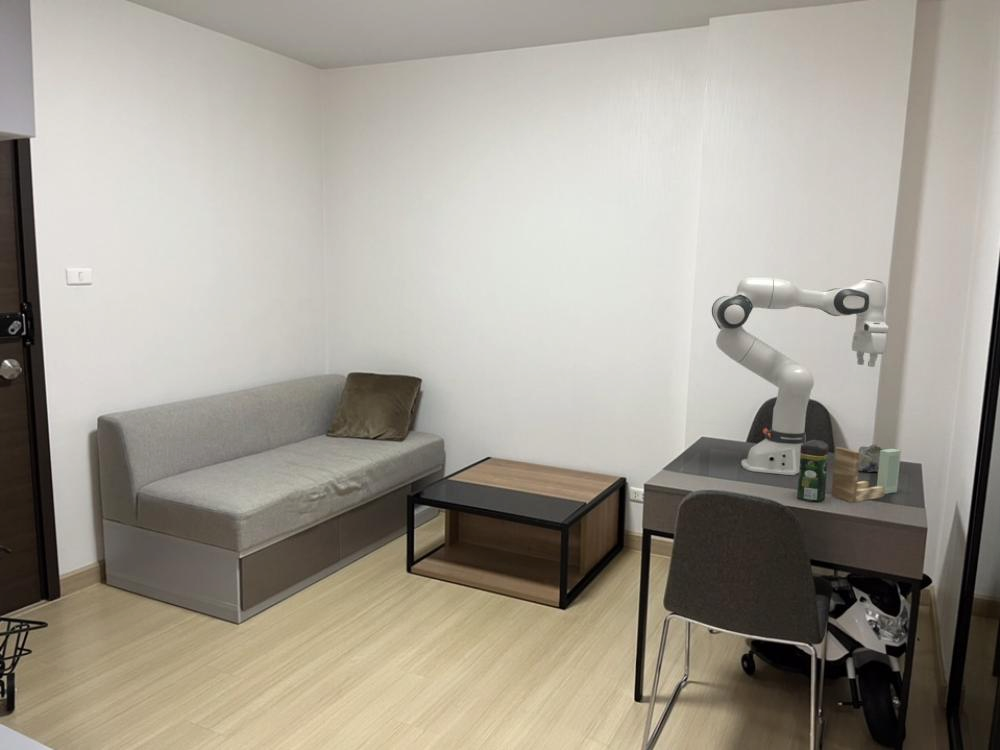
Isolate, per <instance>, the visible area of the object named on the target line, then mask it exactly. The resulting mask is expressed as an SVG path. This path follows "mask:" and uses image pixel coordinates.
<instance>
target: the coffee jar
mask: <svg viewBox="0 0 1000 750" xmlns="http://www.w3.org/2000/svg"><path fill="white" fill-rule="evenodd" d="M828 460H829V444H828V443H826V442H825V441H823V440H818V439H810V440H808V441H805V443H803V444H802V445H801V450H800V467H799V473H798V482H797V491H796V492H797V493H796V496H797V498H799V499H801V500H804V501H807V502H820V501H822V500H823V499H824V498H825V497H826V489H827V487H826V486H827V485H826V484H827V471H828V470H827V469H828Z"/></svg>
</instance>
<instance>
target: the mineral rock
mask: <svg viewBox="0 0 1000 750" xmlns="http://www.w3.org/2000/svg"><path fill="white" fill-rule="evenodd" d="M880 450H884V449H883V448H882V447H880V446H878V445H877V444H872V445H870V446H864V445H863V446H860V447H859V449H858V452H860V457H859V468H858V472H862V471H864V472H865V471H866V472H868V473H870V472H872V473H873V472H876V473H878V469H879V458H880Z"/></svg>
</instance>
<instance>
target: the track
mask: <svg viewBox="0 0 1000 750" xmlns="http://www.w3.org/2000/svg"><path fill="white" fill-rule="evenodd" d="M834 452H835V453H834V461H833V463H834V464H833V473H832V488H831V496H832V497H834V498H837V499H840V500H843V501H845V502H849V503H857V502H862V501H868V500H869V501H870V500H874V499H881V498H884V497H885V494H884V490H885V487H883V486H877V485H875V486H870V487H869V483H870V482H869V481H867V480H862V481H858V477H859V471H858V468H859V457H860V452H859V451H856V450H852V449H848V448H845V447H842V446H836V447H835V450H834Z"/></svg>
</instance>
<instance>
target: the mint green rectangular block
mask: <svg viewBox="0 0 1000 750" xmlns="http://www.w3.org/2000/svg"><path fill="white" fill-rule="evenodd" d="M901 453H902V452H901V450H900V449H895V448H888V449H887V448H886V449H883V450H880V458H879V469H878V472H877V480H876V481H877V482H876V486H883V487H885V490H884V495H887V494H891V493H892V494H893V493H897V492H898V483H899V482H898V481H899V476H900V475H899V474H900V463H901Z"/></svg>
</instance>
